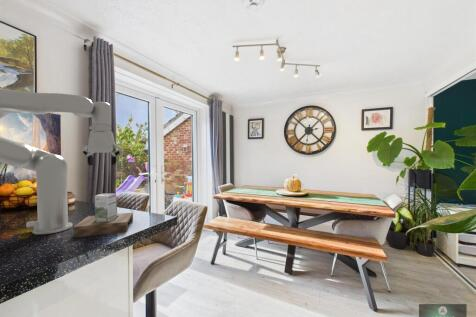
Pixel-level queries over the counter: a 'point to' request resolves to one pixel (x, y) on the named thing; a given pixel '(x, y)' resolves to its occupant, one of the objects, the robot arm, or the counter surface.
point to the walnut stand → (102, 226)
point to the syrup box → (105, 207)
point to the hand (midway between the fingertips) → (102, 165)
